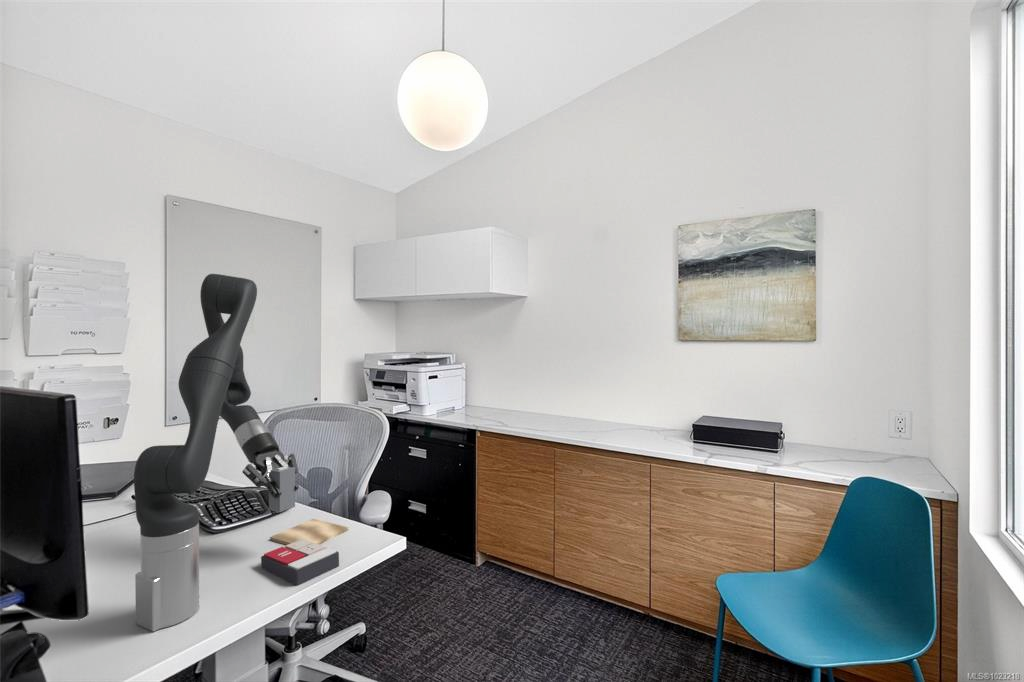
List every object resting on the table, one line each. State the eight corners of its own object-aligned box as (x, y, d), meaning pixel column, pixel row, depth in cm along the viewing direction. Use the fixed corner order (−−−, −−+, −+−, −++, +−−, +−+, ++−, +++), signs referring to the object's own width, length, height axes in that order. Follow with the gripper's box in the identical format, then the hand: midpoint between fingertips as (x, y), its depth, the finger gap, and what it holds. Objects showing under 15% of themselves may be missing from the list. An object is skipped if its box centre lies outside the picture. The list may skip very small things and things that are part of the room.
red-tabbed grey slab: (303, 536, 119) (339, 548, 110) (303, 553, 119) (340, 566, 110) (260, 553, 110) (295, 567, 101) (260, 571, 109) (296, 587, 101)
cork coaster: (306, 550, 118) (306, 547, 118) (270, 540, 124) (270, 537, 124) (348, 530, 131) (348, 527, 131) (313, 521, 137) (313, 518, 137)
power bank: (279, 512, 114) (279, 470, 114) (269, 509, 116) (269, 468, 116) (295, 506, 118) (295, 466, 118) (284, 504, 120) (284, 464, 120)
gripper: (236, 436, 114) (269, 492, 109) (286, 427, 127) (318, 476, 122) (222, 455, 116) (254, 511, 111) (273, 444, 129) (304, 494, 124)
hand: (287, 493), depth 117 cm, fingers closed on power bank, 4 cm apart
